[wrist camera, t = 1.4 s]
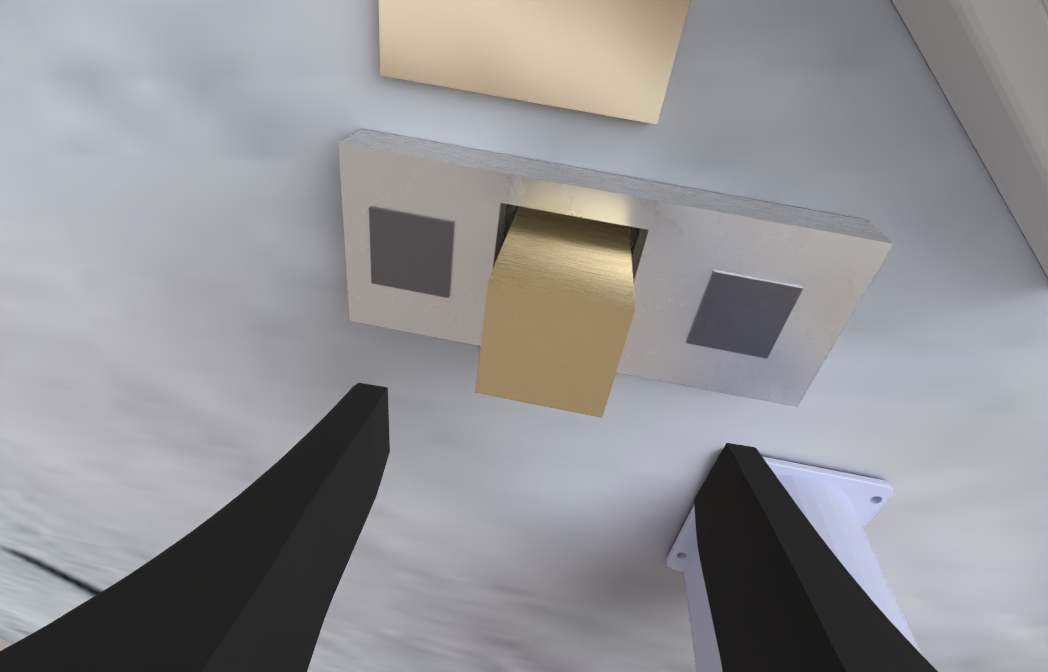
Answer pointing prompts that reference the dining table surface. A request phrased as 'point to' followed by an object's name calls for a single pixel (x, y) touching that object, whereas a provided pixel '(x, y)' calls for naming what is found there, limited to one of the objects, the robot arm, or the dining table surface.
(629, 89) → the birch pad
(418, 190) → the grey peg hole board
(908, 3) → the grey rounded upright block
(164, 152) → the dining table surface
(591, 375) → the brass peg
